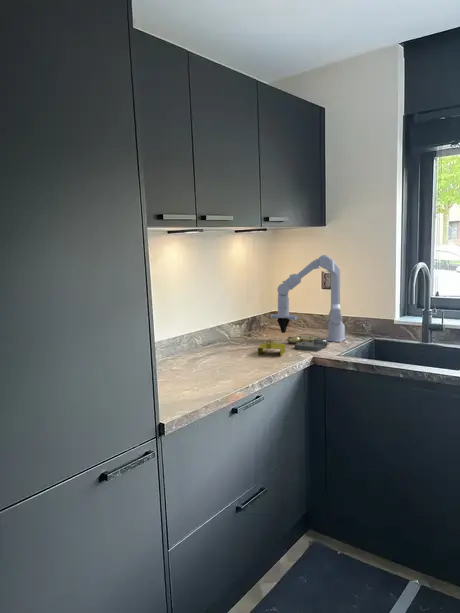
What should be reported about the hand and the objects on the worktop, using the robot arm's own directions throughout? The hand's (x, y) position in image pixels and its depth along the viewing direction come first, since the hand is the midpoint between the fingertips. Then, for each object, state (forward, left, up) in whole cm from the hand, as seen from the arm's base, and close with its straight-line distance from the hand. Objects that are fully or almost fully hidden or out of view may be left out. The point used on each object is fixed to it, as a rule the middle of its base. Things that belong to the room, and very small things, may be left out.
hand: (283, 332), depth 239 cm
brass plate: (+2, +12, -4) cm, 12 cm away
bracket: (+27, +8, -5) cm, 29 cm away
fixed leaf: (+10, +21, -4) cm, 23 cm away
